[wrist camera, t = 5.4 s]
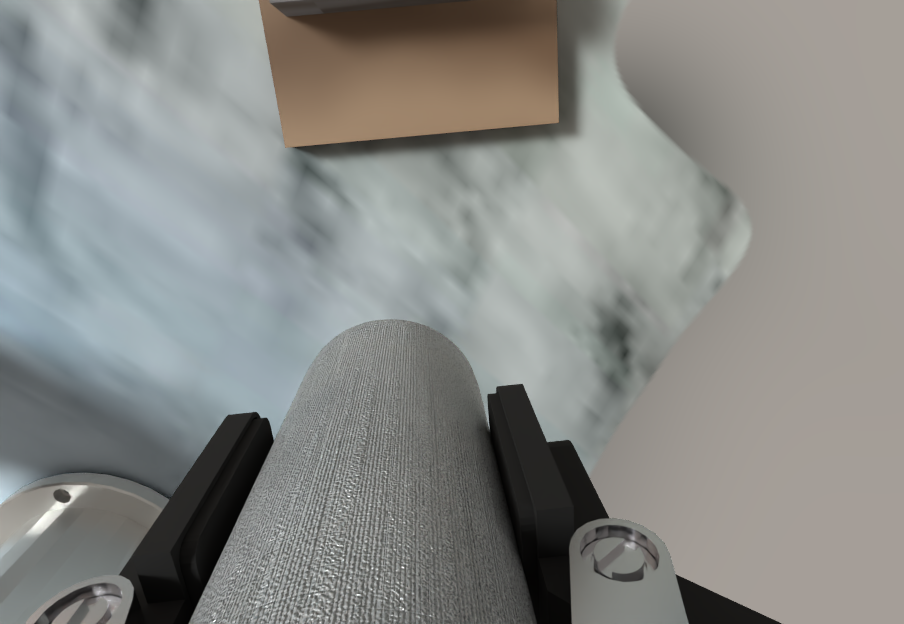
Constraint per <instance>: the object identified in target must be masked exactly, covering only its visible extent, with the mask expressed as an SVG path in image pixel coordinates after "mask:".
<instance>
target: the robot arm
mask: <svg viewBox="0 0 904 624" xmlns="http://www.w3.org/2000/svg"><path fill="white" fill-rule="evenodd" d="M488 412H489V426H490V435H491V439H492V443H493V447H494V451H495V456H496V460H497V464H498V468H499V472H500V476H501V480H502V484H503V488H504V493H505V497H506V501H507V505H508V509H509V513H510V517H511V521H512V525H513V530H514V534H515V538H516V542H517V546H518V550H519V554H520V558H521V562H522V567H523V571H524V574H525V577H526V581H527V585H528V589H529V593H530V597H531V601H532V605H533V609H534V614H535V618H536V622H537V624H781V623H779V622H777V621H775V620H773V619H771V618H769V617H766V616H764V615H762V614H760V613H758V612H756V611H753V610H751V609H749V608H747V607H745V606H743V605H740V604H738V603H736V602H734V601H732V600H730V599H728V598H725V597H723V596H721V595H719V594H717V593H714V592H712V591H710V590H708V589H706V588H704V587H701V586H699V585H697V584H695V583H693V582H691V581H689V580H687V579H684V578H682V577H680V576H678V575H676V574H675V571H674V568H673V564H672V560H671V556H670V553H669V552H668V549H667V547H666V545H665V543H664V542H663V541H662V540H661V539H660V538H659V537H658V536H657V535H656V534H655V533H654V532H652V531H650V530H649V529H647V528H646V527H644V526H642V525H640V524H637V523H634V522H631V521H629V520H622V519H616V518H609V516H608V514H607V513H606V511H605V508H604V507H603V504H602V502H601V500H600V499H599V497H598V494H597V493H596V490H595V488H594V486H593V484H592V482H591V480H590V478H589V476H588V474H587V472H586V470H585V468H584V466H583V464H582V462H581V460H580V458H579V456H578V454H577V452H576V450H575V448H574V446H573V444H572V443H571V441H569V440H564V441H555V442H547V441H546V439H545V436H544V434H543V432H542V429H541V427H540V424H539V422H538V420H537V417H536V415H535V413H534V410H533V408H532V405H531V403H530V401H529V398H528V396H527V393H526V391H525V389H524V386H523V384H517V385H507V386H498V387H497V388H496V393H495V394H488ZM273 443H274V440H273V435H272V431H271V426H270V423H269V420H268V419H267V418H260V416H259V414H258V413H257V412H252V413H243V414H233V415H228V416H227V417H226V418H225V419H224V421H223V422H222V424H221V425H220V427H219V428H218V430H217V431H216V433H215V434H214V436H213V437H212V438H211V440H210V441H209V443H208V444H207V446H206V447H205V449H204V450H203V452H202V453H201V455H200V456H199V458H198V459H197V460H196V462H195V463H194V465H193V466H192V468H191V469H190V471H189V472H188V474H187V475H186V477H185V478H184V480H183V481H182V482H181V484H180V485H179V487H178V488H177V490H176V491H175V493H174V494H173V496H172V497H171V499H170V500H169V499H168V498H166V497H164V496H163V495H161V494H159V493H158V492H156V491H154V490H153V489H151V488H148V487H146V486H143V485H141V484H138V483H136V482H133V481H131V480H127V479H123V478H119V477H115V476H111V475H106V474H95V473H68V474H60V475H55V476H51V477H47V478H42V479H40V480H37V481H35V482H33V483H30V484H28V485H26V486H24V487H22V488H21V489H19V490H18V491H16V492H15V493H14V494H12V495H11V496H10V497H8V498H7V499H6V500H5V501H4V502H3V503H2V504H1V505H0V624H189V622H190V619H191V617H192V615H193V613H194V611H195V609H196V607H197V605H198V602H199V600H200V598H201V596H202V594H203V592H204V590H205V588H206V585H207V583H208V581H209V579H210V577H211V575H212V573H213V570H214V568H215V566H216V564H217V562H218V560H219V558H220V556H221V553H222V551H223V549H224V547H225V545H226V543H227V541H228V539H229V536H230V534H231V532H232V530H233V528H234V526H235V524H236V521H237V519H238V517H239V515H240V513H241V511H242V509H243V507H244V504H245V502H246V500H247V498H248V496H249V494H250V492H251V490H252V487H253V485H254V483H255V481H256V479H257V477H258V475H259V472H260V470H261V468H262V466H263V464H264V462H265V460H266V458H267V455H268V453H269V451H270V449H271V447H272V445H273Z"/></svg>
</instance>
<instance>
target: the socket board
mask: <svg viewBox="0 0 904 624" xmlns="http://www.w3.org/2000/svg"><path fill="white" fill-rule="evenodd" d="M259 4H260V10H261V15H262V21H263V26H264V32H265V37H266V43H267V48H268V54H269V59H270V65H271V70H272V76H273V81H274V87H275V93H276V98H277V104H278V109H279V115H280V120H281V126H282V131H283V137H284V142H285V148H287V147H298V146H309V145H320V144H331V143H342V142H353V141H364V140H375V139H386V138H397V137H408V136H419V135H430V134H441V133H452V132H463V131H474V130H485V129H496V128H507V127H518V126H529V125H540V124H551V123H559V103H558V49H557V0H259Z"/></svg>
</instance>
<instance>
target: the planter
mask: <svg viewBox="0 0 904 624" xmlns="http://www.w3.org/2000/svg"><path fill="white" fill-rule="evenodd" d="M189 624H537V622H536V618H535V614H534V609H533V605H532V601H531V597H530V593H529V589H528V585H527V581H526V577H525V574H524V571H523V567H522V562H521V558H520V554H519V550H518V546H517V542H516V538H515V534H514V530H513V525H512V521H511V517H510V513H509V509H508V505H507V501H506V497H505V493H504V488H503V484H502V480H501V476H500V472H499V468H498V464H497V460H496V456H495V451H494V447H493V443H492V439H491V435H490V430H489V426H488V422H487V418H486V414H485V410H484V406H483V402H482V398H481V394H480V389H479V386H478V383H477V380H476V378H475V375H474V373H473V370H472V368H471V366H470V364H469V362H468V360H467V359H466V357H465V356H464V354H463V353H462V352H461V351H460V350H459V348H458V347H457V346H456V345H455V344H454V343H453V342H452V341H450V340H449V339H448V338H447V337H445V336H444V335H442V334H441V333H439V332H437V331H435V330H433V329H431V328H429V327H427V326H424V325H421V324H418V323H415V322H410V321H405V320H376V321H371V322H366V323H363V324H360V325H357V326H355V327H352V328H350V329H348V330H346V331H344V332H342V333H341V334H339V335H338V336H336V337H335V338H334V339H332V340H331V341H330V342H329V343H328V344H327V345H326V346H325V347H324V348H323V349H322V350H321V351H320V352H319V354H318V355H317V357H316V358H315V360H314V361H313V363H312V364H311V366H310V368H309V369H308V371H307V373H306V375H305V377H304V379H303V381H302V383H301V385H300V387H299V389H298V391H297V394H296V396H295V398H294V400H293V402H292V404H291V406H290V409H289V411H288V413H287V415H286V417H285V419H284V421H283V423H282V426H281V428H280V430H279V432H278V434H277V436H276V438H275V440H274V443H273V445H272V447H271V449H270V451H269V453H268V455H267V458H266V460H265V462H264V464H263V466H262V468H261V470H260V472H259V475H258V477H257V479H256V481H255V483H254V485H253V487H252V490H251V492H250V494H249V496H248V498H247V500H246V502H245V504H244V507H243V509H242V511H241V513H240V515H239V517H238V519H237V521H236V524H235V526H234V528H233V530H232V532H231V534H230V536H229V539H228V541H227V543H226V545H225V547H224V549H223V551H222V553H221V556H220V558H219V560H218V562H217V564H216V566H215V568H214V570H213V573H212V575H211V577H210V579H209V581H208V583H207V585H206V588H205V590H204V592H203V594H202V596H201V598H200V600H199V602H198V605H197V607H196V609H195V611H194V613H193V615H192V617H191V619H190V622H189Z"/></svg>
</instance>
